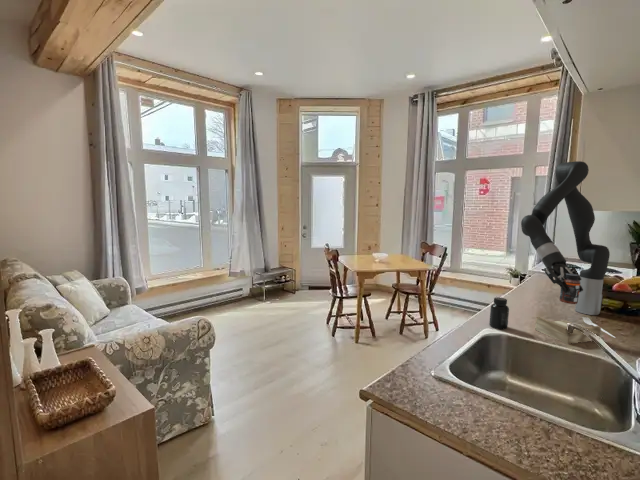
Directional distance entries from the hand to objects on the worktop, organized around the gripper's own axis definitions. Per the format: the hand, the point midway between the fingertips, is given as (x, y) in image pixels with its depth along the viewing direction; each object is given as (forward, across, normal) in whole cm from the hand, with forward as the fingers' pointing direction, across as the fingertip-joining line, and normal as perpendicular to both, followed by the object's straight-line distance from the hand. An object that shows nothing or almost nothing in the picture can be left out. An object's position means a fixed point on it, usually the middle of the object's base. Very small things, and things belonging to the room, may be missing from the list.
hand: (574, 291), depth 136 cm
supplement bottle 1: (+3, -21, +23) cm, 31 cm away
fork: (+10, +22, +16) cm, 29 cm away
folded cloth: (+12, 0, +14) cm, 18 cm away
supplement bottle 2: (+2, 0, +5) cm, 5 cm away
